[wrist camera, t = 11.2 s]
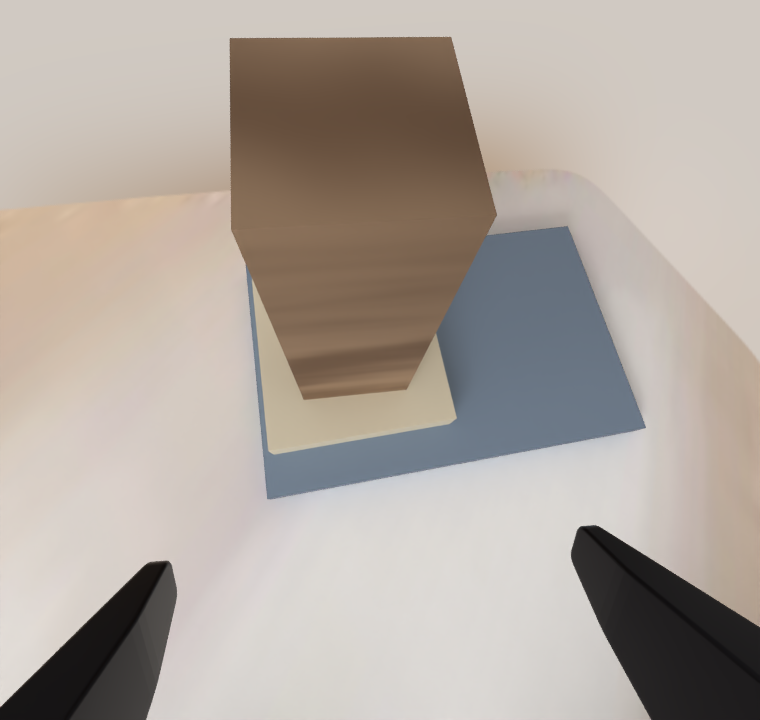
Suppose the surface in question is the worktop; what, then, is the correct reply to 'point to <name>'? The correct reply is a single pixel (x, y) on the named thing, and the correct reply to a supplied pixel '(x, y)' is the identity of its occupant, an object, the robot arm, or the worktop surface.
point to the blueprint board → (459, 378)
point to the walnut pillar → (354, 200)
